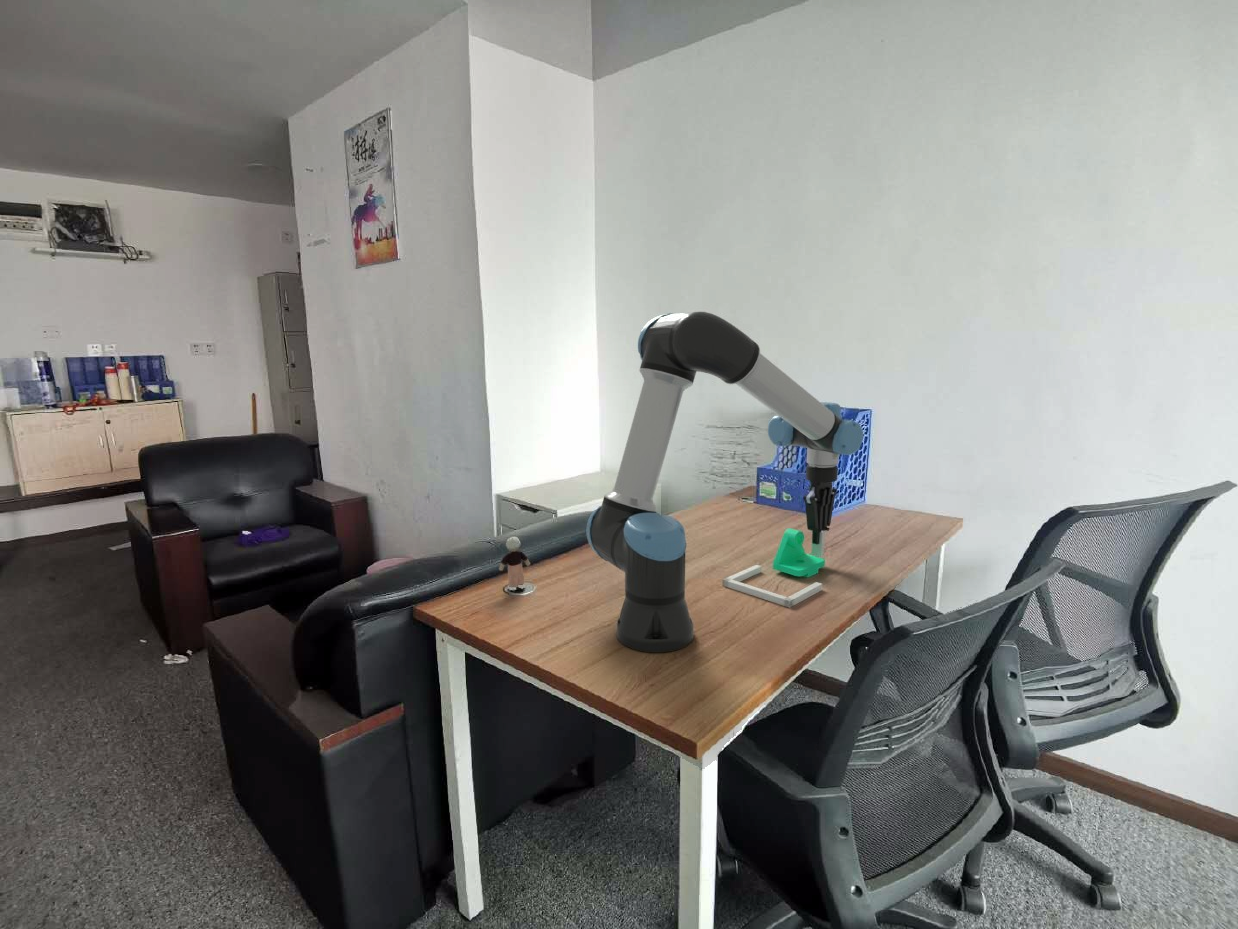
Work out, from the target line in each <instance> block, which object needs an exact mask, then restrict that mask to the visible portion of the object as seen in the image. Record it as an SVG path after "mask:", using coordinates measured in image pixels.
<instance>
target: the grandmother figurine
mask: <svg viewBox="0 0 1238 929" xmlns="http://www.w3.org/2000/svg"><path fill="white" fill-rule="evenodd" d="M505 547H506V549H507V550H508V551H509V553H506V554H505V555H504V556H503V558H502V559H501V561H500V565H499V567H498V570H499V571H503V570H504V568H505V566H507V579H508V586H509V587H516V588H517V586H518V585H523V584H525V575H524V568H523V563H522V561H523V562H524V564H525V566H527V567H530V565H531V562H530V560H529V559H528V556H527V555H526V554H525V553H524V552H523V551H520V550H519V549H520V547H521V541H520V538H518V537H517V536H511V537H509V538H507V540H506V542H505Z"/></svg>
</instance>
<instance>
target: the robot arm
mask: <svg viewBox="0 0 1238 929" xmlns="http://www.w3.org/2000/svg"><path fill="white" fill-rule="evenodd" d="M637 340H638V341H637V352H638V353H639V358H640V360H641V363H640V367H639V372H640V375H641V376H642V377H643V383H642V386H641V390H640V394H639V397H638V401H637V404H636V408H635V412H634V415H633V418H632V423H631V426H630V430H629V433H628V435H627V436H628V437H627V440H626V444H625V448H624V451H623V455H622V457H621V458H622V459H621V461H620V464H619V465H620V466H619V469H618V472H617V476H616V480H615V483H614V487H613V489H612V490H610V491H609V492H607V493H605V494H604V495H603V496H604V497H603V500H602V504H601V505H600V506H598V507H597V509H594V510H593V512H592V513H591V514H590V516H589V518H588V520H587V522H586V523H587V524H586V527H585V528H586V529H585V530H586V531H585V532H586V539H587V542H588V545H589V546H590V548H591V549H592V550H593V551H594V552H595V553H596V555H598V556H599V557H600V559H602V560H603V561H606V562H608V563H609V564H611V565H613V566H615V567H616V568H617V569H619V570H620V571H623V573H624V587H625V588H624V589H625V591H624V596H625V597H624V600H623V603H622V606H621V610H620V614H619V616H618V618H617V621H616V637H617V639H618V641H619V642H620V643H621V644H622V645H624V646H625V647H628V648H629V649H632V650H635V651H638V652H645V653H667V652H674V651H677V650H680V649H683V648H685V647H686V646H689V644H691V642H692V641H693V639H694V622H693V619H692V618H691V616H690V612H689V608H688V604H687V602H686V598H685V597H686V594H685V593H686V549H687V540H686V531H685V527H684V525H683V524H682V522H680V521H679V520H677V519H676V518H675V517H672V516H670V515H667V514H660V513H658V508H657V506H656V504H655V503H654V496H655V493H656V490H657V489H656V488H657V487H658V482H659V478H660V475H661V471H662V468H663V464H664V461H665V457H666V454H667V450H668V447H669V444H670V440H671V436H672V432H673V430H674V426H675V422H676V418H677V414H678V411H679V409H680V404H681V401H682V398H683V393H684V391H685V390H687V389H689V388H690V387H692V386H693V385H694V382H695V379H696V374H697V372H698V373H699V372H700V373H705V374H707V375H712V376H714V377H716V378H718V379H720V380H722V381H723V383H725V384H728V385H737V386H738V387H740V388H741V389H743V390H744V392H746V393H748V394H749V395H750V396H751V397H752V398H754V399H756V400H757V401H759V403H761V404H762V405H763V406H765V407H766V408H768V409H769V410H770V411H772V412H773V413H775V415H774V416H773V417H772V418H771V419H770V420H769V422H768V425H767V435H768V438H769V440H770V442H771V443H772V444H773V445H775V446H777V447H789V446H795V447H802V448H806V449H807V451H806V463H807V465H805V466H806V467H805V468H806V469H805V471H806V472H805V478H806V480H808V482H810V484H809V488H808V489H809V490H808V491H809V493H808V494H804V495H803V502H804V504H805V506H804V507H805V516H806V526H807V527H806V528H807V530H809V531H811V532H812V533H811V535H812V536H811V549H810V550H811V552H810V555H812V556H816V557H820V558H823V556H825V542H826V541H825V540H826V531H827V532H828V531H829V530H830V525H831V524H832V523H831V522H832V516H833V510H834V506H835V505H834V504H835V498H836V496H837V493H838V489H837V488H836V487H835V488H834V487H833V483H834V482H836V481H837V480H838V474H839V472H838V470H839V467H838V466H837V465H838V464H839V458H840V456H841V455H846V456H851V455H853V454H855V453H856V452H858V451H859V449H860V448H861V445H863V444H862V443H863V441H864V432H863V431H864V430H863V428H862V426H861V425H860V424H859V423H858V422H857V421H853V420H851V419H843V418H842V413H841V412H842V411H841V405H840V404H838V403H835V402H827V401H825V402H824V401H819V400H818V399H817V398H816V397H815V396H813V395H812V394H811V393H809V392H808V391H807V390H806V389H804V387H802V386H801V385H800V384H799V383H797V382H796V381H795V380H794V379H792V378H791V377H790V376H789V375H787V373H785V372H784V371H782V370H781V369H780V368H779V367H778V366H776V365H775V363H772V361H771V360H769V359H768V358H767V357H766V356H764V355H763V354H762V353H761V348H760V346H759V344H758V343H757V342H756V341H754V340H753V339H752V338H750V336H748V335H747V334H746V333H744V332H743V331H742V330H741V329H739V328H738V327H736V326H735V325H733V324H732V323H730V322H729V321H727V320H726V319H724V318H722V317H720V316H718V315H716V314H713V313H711V312H707V311H693V312H681V313H676V312H672V313H671V312H669V313H665V314H661V315H658V316H656V317H654V318H652V319H651V320H648V322H647V323H646V324H645V325H644V326H643V328H642V330H641V331H640V334H639V336H638V339H637Z"/></svg>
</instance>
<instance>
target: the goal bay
mask: <svg viewBox="0 0 1238 929" xmlns="http://www.w3.org/2000/svg"><path fill="white" fill-rule="evenodd" d="M761 572H762V566H761V565H759V564H755V565H752V566H750V567H748V568H746V569H744V570H740V571H739V572H737V573H735V574H732V575H730V576H727V577H725V578H723V579H721V580H722V587H723V586H724V587H725V588H729V589H732V590H734V591H738V592H741V593H744V594H747V595H750V596H753V597H756V598H759V599H762V600H765V601H769V602H772V603H774V604H777V605H780V606H783V607H786V608H789V609H790V608H792V607H794V606H795V605H797V604H799V603H801V602H802V601H805V600H806V599H808V598H810V597H811V596H813V595H815V594H817V593H819V592H820V591H822V590H823V583H821V582H817V581H815V582H813V583H812V584H810V585H808V586H806V587H804V588H802V589H800V590H799V591H797V592H795V593H793V594H791V595H789V596H785V595H781V594H779V593H775V592H772V591H769V590H766V589H764V588H760V587H756V586H754V585H750V584H746V583H743V582H742V581H744V580H746V579H749V578H751V577H753V576H755V575H758V574H760V573H761Z"/></svg>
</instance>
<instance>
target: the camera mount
mask: <svg viewBox="0 0 1238 929" xmlns="http://www.w3.org/2000/svg"><path fill="white" fill-rule="evenodd" d="M804 541H805V534H804V532H803V531H801V530H797V529H794V528H787V529H785V531H784V533H783V535H782V538H781V539H780V543H779V546H778V548H777V551H776V554H775V557H774V560H773V562H772V569H773V570H776V571H778V572H782V573H785V574H789V575H791V576H795V577H805V578H810V577H812V576H815V575H816V573H817V574H818V573H819V570H820V569H821V568H823V567H825V565H826V559H825V558H823V557H820V556H816V555H812V554H808V553H806V550H805V548H804V546H803V545H804Z"/></svg>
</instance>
